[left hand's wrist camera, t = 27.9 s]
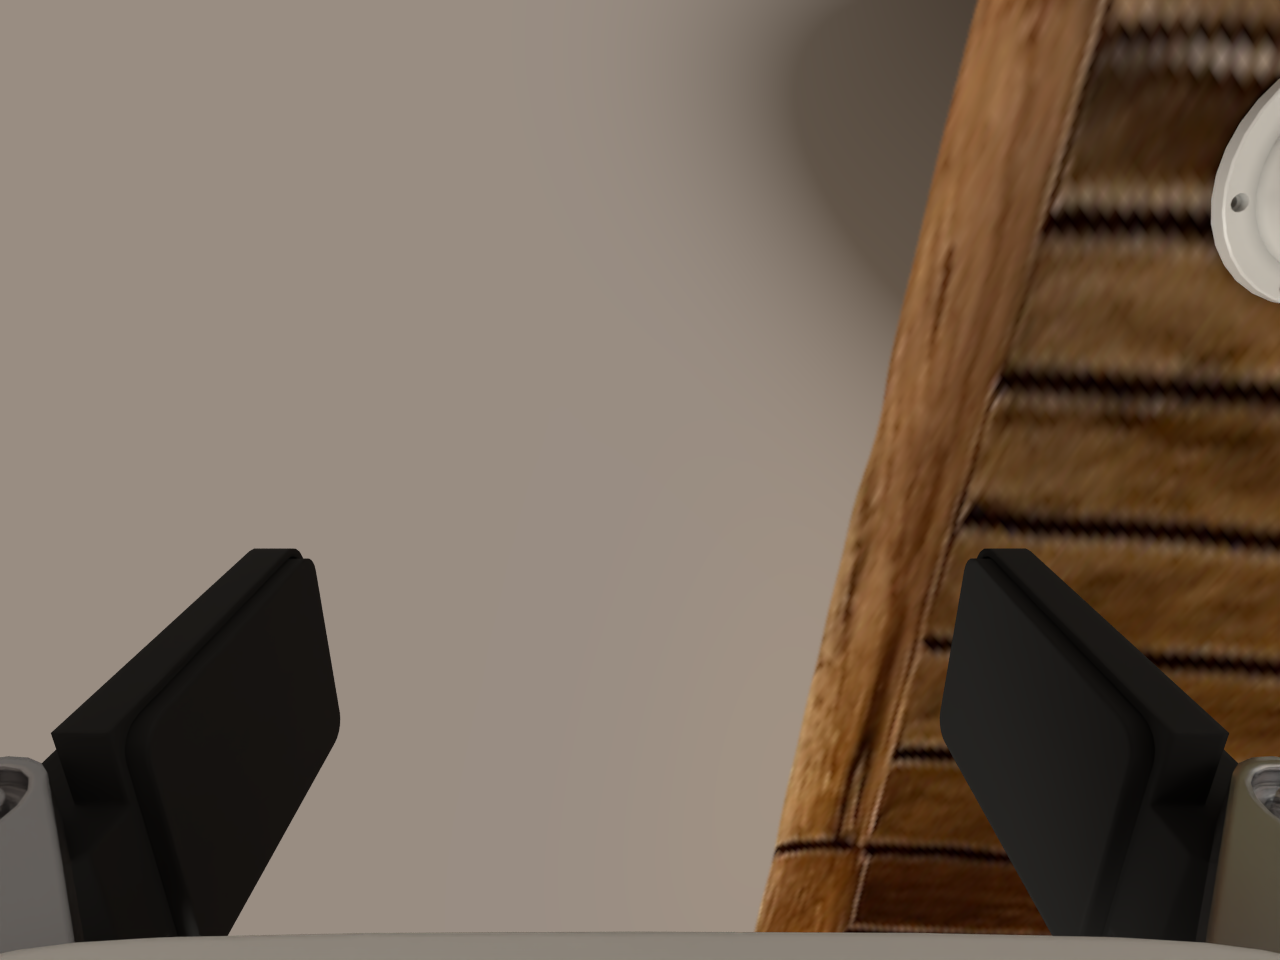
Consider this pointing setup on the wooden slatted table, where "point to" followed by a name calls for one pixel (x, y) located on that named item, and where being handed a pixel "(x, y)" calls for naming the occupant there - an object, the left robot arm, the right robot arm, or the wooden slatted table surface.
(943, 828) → the wooden slatted table surface
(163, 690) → the left robot arm
